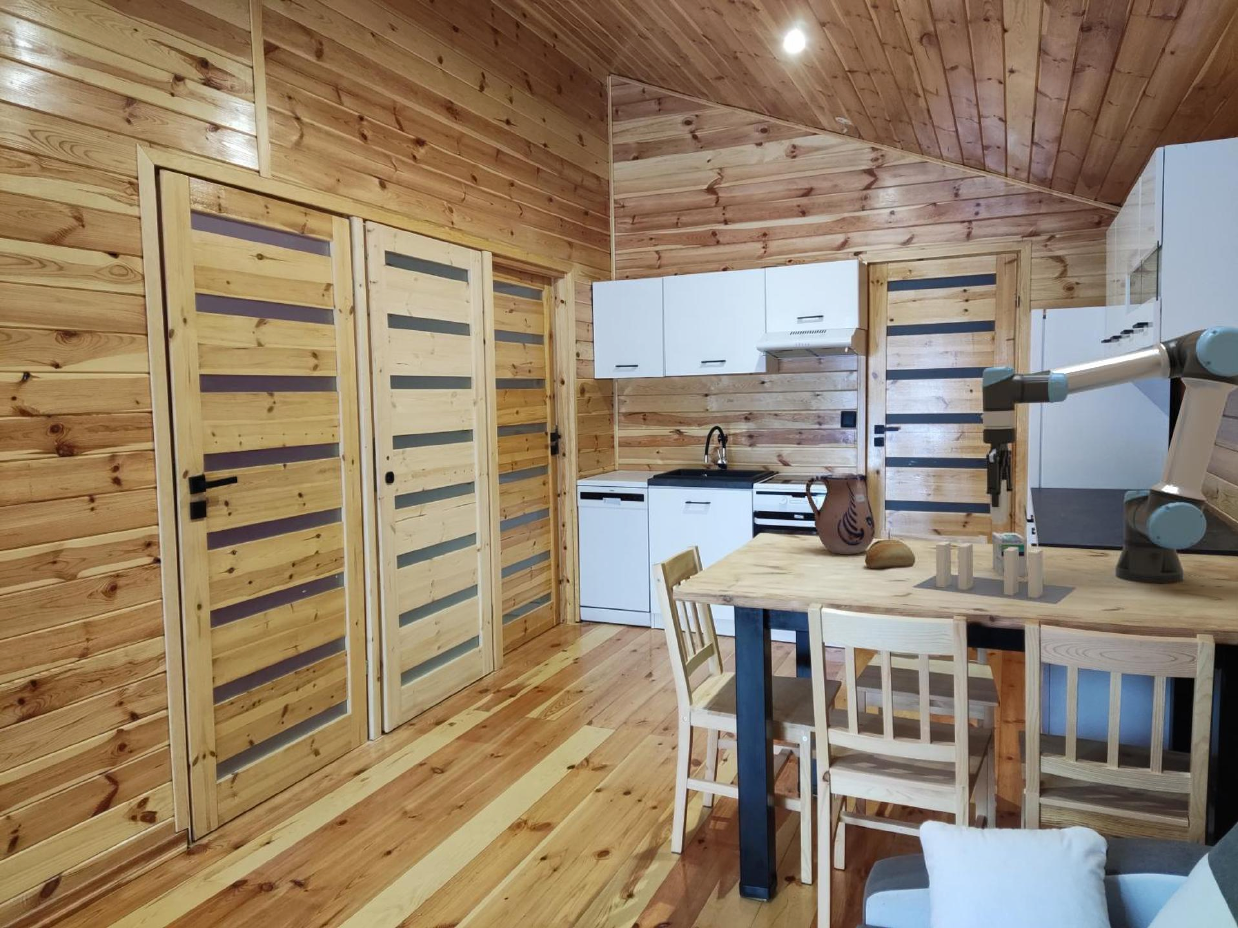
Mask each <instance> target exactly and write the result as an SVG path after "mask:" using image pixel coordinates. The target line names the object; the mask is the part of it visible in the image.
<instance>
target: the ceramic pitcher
mask: <svg viewBox="0 0 1238 928" xmlns="http://www.w3.org/2000/svg"><path fill="white" fill-rule="evenodd" d="M867 477H868V475H867V474H863V473H858V474H854V473H852V472H850V473H849V472H848V473H846V472H843V473H835V474H834V473H832V474H831V473H830V474H826V475H824V474H823V475H814V476H812V477H810V478H809V479H808V480H807V482H806V484H805V495H806V498H807V500H808V501H807V502H808V504H809V506H810V508H811V510H812V512H813V515H814V527H815V529H816V530H817V533H818V538H819V540H820V542H821V544H822V545H823V546H824V547H825V548H826V550H828V551H829V552H831V553H834V554H838V553H839V554H838V555H855V554H860V553H863V552H864V551H866V550H867V549H868V547H870V546H871V545H872V542H873V540H874V537H875V532H876V531H875V530H876V526H875V525H876V524H875V520H874V516H873V511H872V507H871V505H870V500H869V497H868V492H867V480H868V479H867ZM816 482H821V483H823V484H824V486H825V488H826V493H825V496H824V499H823V502H822V504H821V507H820V508H819V509H818V507H817V505H816V504H815V502H814V500H813V496H812V494H811V493H812V492H811V488H812V485H813V484H814V483H816Z"/></svg>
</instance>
